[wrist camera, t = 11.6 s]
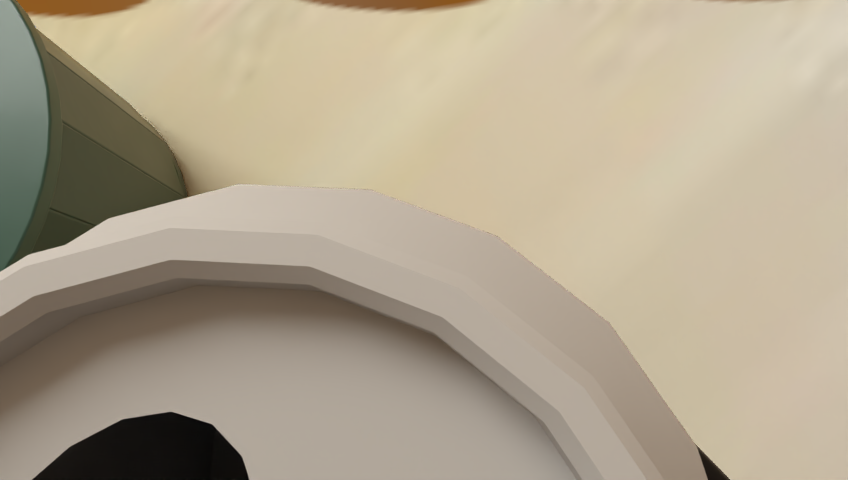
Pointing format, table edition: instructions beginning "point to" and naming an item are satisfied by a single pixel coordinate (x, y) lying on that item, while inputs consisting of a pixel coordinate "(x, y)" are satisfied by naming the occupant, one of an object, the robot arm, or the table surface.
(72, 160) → the pot
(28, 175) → the pot lid
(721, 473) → the robot arm
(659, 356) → the table surface
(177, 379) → the can
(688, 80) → the table surface
